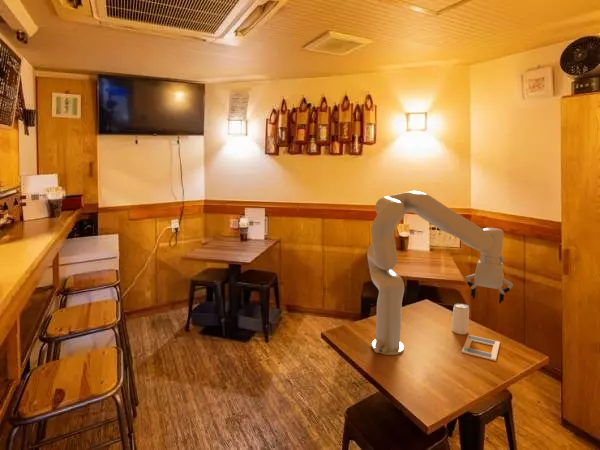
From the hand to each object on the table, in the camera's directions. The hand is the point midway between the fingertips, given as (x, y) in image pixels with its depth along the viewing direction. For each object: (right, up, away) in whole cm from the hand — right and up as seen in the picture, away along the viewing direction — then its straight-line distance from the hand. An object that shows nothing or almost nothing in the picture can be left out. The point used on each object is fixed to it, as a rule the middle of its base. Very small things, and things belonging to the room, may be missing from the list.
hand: (486, 300), depth 153 cm
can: (-6, -16, +13) cm, 22 cm away
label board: (-3, -19, -1) cm, 19 cm away
